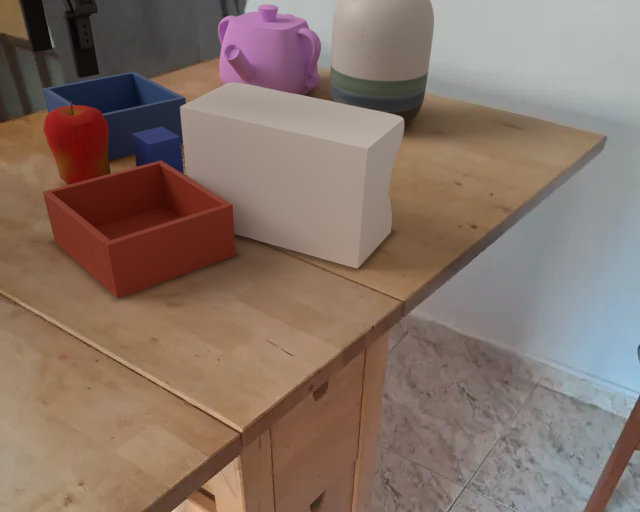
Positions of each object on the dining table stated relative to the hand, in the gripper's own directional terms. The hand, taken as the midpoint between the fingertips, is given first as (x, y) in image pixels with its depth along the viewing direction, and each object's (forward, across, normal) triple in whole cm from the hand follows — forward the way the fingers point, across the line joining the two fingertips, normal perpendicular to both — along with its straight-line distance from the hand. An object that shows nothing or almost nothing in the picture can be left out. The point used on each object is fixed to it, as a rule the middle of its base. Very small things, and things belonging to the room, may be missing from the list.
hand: (64, 62), depth 90 cm
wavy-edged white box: (+17, -27, -19) cm, 37 cm away
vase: (+17, -5, -54) cm, 57 cm away
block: (+16, -6, -9) cm, 20 cm away
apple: (+17, 0, 0) cm, 17 cm away
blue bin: (+16, +14, -13) cm, 25 cm away
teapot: (+17, +19, -47) cm, 53 cm away
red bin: (+16, -22, +3) cm, 28 cm away
